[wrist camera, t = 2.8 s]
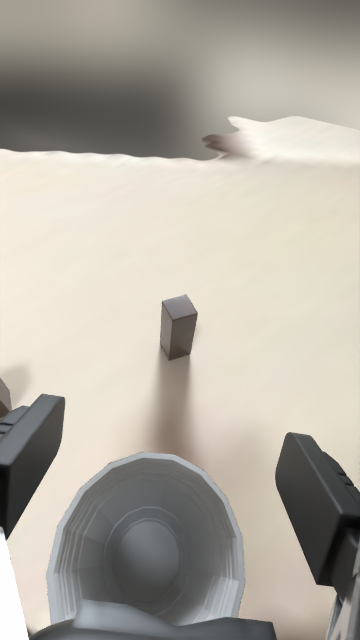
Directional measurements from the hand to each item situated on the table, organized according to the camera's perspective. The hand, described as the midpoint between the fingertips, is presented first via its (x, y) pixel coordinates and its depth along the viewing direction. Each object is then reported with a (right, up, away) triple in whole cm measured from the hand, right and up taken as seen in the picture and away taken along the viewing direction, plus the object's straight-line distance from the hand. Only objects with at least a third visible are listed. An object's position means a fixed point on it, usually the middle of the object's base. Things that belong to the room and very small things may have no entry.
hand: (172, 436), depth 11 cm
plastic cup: (-2, -16, +15) cm, 22 cm away
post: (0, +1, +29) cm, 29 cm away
